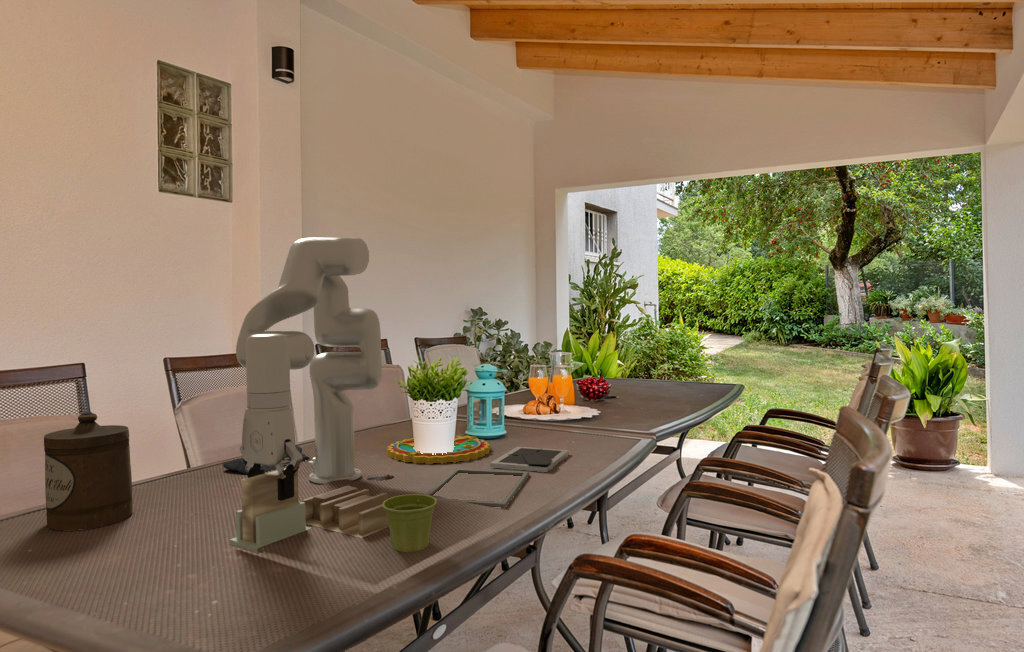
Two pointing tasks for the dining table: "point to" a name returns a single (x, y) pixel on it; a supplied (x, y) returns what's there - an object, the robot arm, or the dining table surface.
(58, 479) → the wooden container
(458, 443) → the decorative plaque
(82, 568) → the dining table surface
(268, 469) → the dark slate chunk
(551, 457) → the grey-brown pointed piece
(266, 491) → the maple block
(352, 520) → the offcut rack
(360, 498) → the walnut offcut
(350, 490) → the walnut offcut
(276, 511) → the green stand
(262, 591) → the dining table surface
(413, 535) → the plant pot
